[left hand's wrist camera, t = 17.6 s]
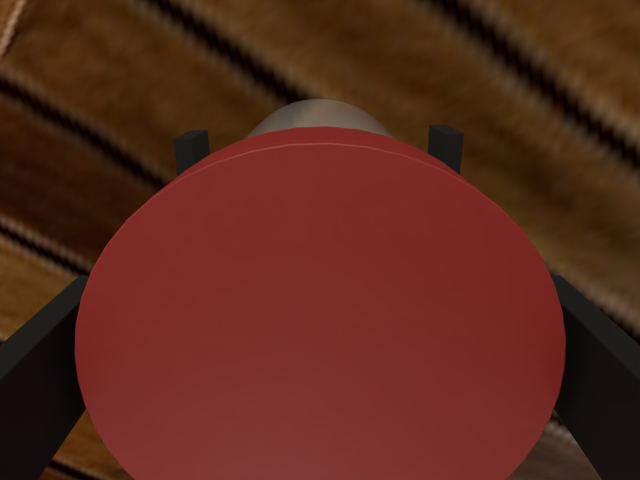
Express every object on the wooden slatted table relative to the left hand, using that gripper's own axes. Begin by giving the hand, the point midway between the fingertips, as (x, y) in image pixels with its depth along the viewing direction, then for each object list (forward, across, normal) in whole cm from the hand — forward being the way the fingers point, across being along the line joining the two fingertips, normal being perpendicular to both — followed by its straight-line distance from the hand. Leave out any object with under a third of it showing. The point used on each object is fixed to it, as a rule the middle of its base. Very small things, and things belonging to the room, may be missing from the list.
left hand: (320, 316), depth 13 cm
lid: (-3, 0, 0) cm, 3 cm away
